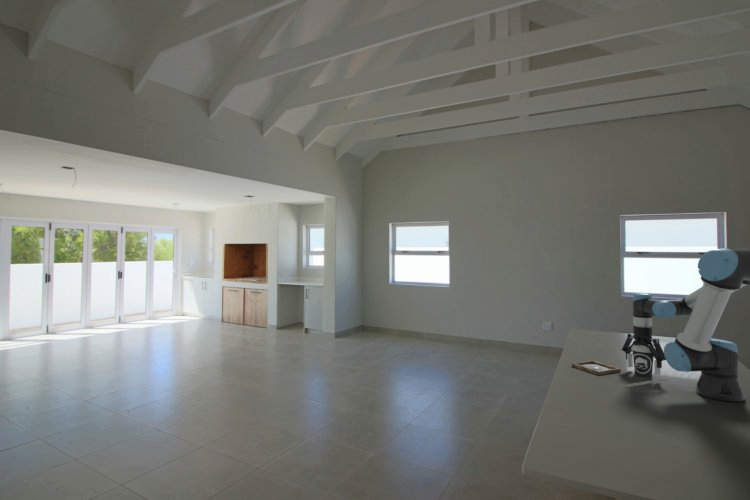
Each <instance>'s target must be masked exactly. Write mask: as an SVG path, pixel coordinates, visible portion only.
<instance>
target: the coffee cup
mask: <svg viewBox="0 0 750 500" xmlns="http://www.w3.org/2000/svg"><path fill="white" fill-rule="evenodd" d="M631 350H632V353H633V367H634V369H633V370H634V374H635V375H636V376H639V377H643V378H651V377H653V370H654V369H653V367H654V359H655V358H654V356H653V355H652V353H651V351H650V350H649V348H647V347H646V346H642V345H634V344H633V346H632V348H631Z"/></svg>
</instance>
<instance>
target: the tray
mask: <svg viewBox="0 0 750 500" xmlns="http://www.w3.org/2000/svg"><path fill="white" fill-rule="evenodd" d="M585 364H594V365H601V366H604V367H607V368H610V370H603V371H597V370H594V369H591V368H588V367H584V366H582V365H585ZM571 367H573V368H576V369H578V370H582V371H585V372H589V373H590V374H593V375H597V376H604V375H605V376H606V375H611V374H616V373H617V374H618V373H621V372H622V371H621V368H620V367H616V366H613V365H609V364H606V363H602V362H599V361H596V360H587V361H578V362H572V363H571Z"/></svg>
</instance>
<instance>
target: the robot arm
mask: <svg viewBox="0 0 750 500" xmlns="http://www.w3.org/2000/svg"><path fill="white" fill-rule="evenodd" d="M697 269H698V273H699V275H700V280H701V281H702V283H703V284H702V286H701V287H699V288H697V289H696V290H695V291H692V292H691V293H689V294H688V295H686V296H685V297H683V298H681V299H653V295H652V294H650V293H645V292H638V293H637V292H636V293H633V295H632V315H633V316H632V323H633V326H632V327H633V328H632V330H633V331H632V333H631V332H630V333H627V337H626V340H625V342H624V344H623V346H622V347H621V351H622V352H624V353H625V359H626V363H627V365H626V367H627V368H633V367H634V361H633V352H632V350H631V348H632V346H633V344H634V345H642V346H646V347H647V348H649V350H650V351H651V353H652V355H653V356H654V358H653V359H655V360H653V367H654V375H655V376H659V375H661V368H662V367H663V363H662V362H663V361H666V363H667V364H668V366H669V367H671V369H673V370H674V371H677V372H685V373H690V372H701V373H700V376H699V379H698V381H697V383H696V386H695V392H696V393H697V394H699V395H700V396H703V397H705V398H708V399H713V400H717V401H723V402H732V403H734V402H735V403H738V402H743V401H744V400H745V392H744V390H743V387H742V385H741V383H740V380H739V352H738V345H737V344H736V343H734V342H733V341H728V340H724V339H719V338H713V335H714V333H715V330H716V328H717V326H718V324H719V321H720V320H721V317H722V315H723V313H724V310H725V308H726V306H727V304H728V302H729V299H730V297H731V295H732V294H733V293H735V292H736V291H739V290H740V289H742V288H743V287H745V286H750V248H718V249H717V248H715V249H711V250H708V251H706V252H705V253H704V254H702V255H701V257H700V258H699V260H698V263H697ZM653 317H657V318H661V319H671V318H673V317H676V318H677V317H689V318H688V321H687V323H686V325H685V328H684V331H683V332H680V333H678V334H677V335H676V337H675V339H674V342H673V341H671V342H668V343H666V344H665V345H664V348H662V346H661V344H660V339H659V338H653V337H652V335H653V327H652V326H653ZM633 339H634V340H633Z"/></svg>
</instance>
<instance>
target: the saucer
mask: <svg viewBox="0 0 750 500" xmlns="http://www.w3.org/2000/svg"><path fill="white" fill-rule="evenodd" d="M582 366H584V367H588V368H591V369H594V370H597V371H603V370H610V368H607V367H604V366H601V365H594V364H585V365H582Z"/></svg>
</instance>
